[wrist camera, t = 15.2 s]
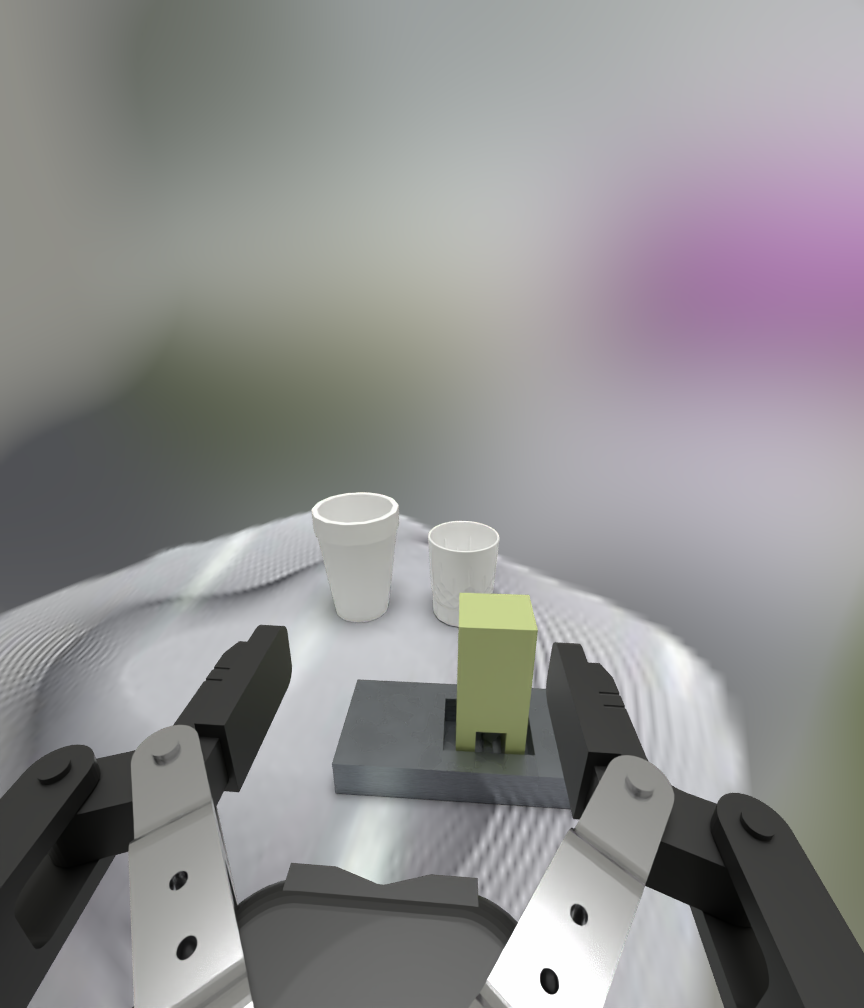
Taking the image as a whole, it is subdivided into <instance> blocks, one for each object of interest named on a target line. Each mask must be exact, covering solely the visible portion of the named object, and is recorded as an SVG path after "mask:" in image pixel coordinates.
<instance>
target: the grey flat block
mask: <svg viewBox="0 0 864 1008" xmlns="http://www.w3.org/2000/svg"><path fill="white" fill-rule="evenodd" d="M456 709H457V684H437V683H417V682H396V681H376V680H357V683H356V687H355V690H354V693H353V696H352V700H351V703H350V706H349V710H348V713H347V716H346V720H345V723H344V726H343V729H342V733H341V736H340V739H339V743H338V746H337V749H336V753H335V756H334V759H333V762H332V767H333V775H334V784H335V792H336V793H341V794H356V795H371V796H386V797H401V798H416V799H431V800H447V801H462V802H477V803H492V804H507V805H522V806H537V807H552V808H567V809H571V807H570V803H569V798H568V794H567V789H566V785H565V781H564V776H563V772H562V767H561V763H560V758H559V754H558V749H557V745H556V740H555V736H554V731H553V727H552V722H551V718H550V714H549V709H548V704H547V697H546V689H537V688H531V698H530V707H529V717H528V726H527V735H526V745H525V754H524V755H518V754H502V751H501V740H500V733H491V732H476V738H475V752H467V751H456Z"/></svg>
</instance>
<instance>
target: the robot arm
mask: <svg viewBox="0 0 864 1008" xmlns="http://www.w3.org/2000/svg"><path fill="white" fill-rule="evenodd" d="M291 673H292V663H291V656H290V648H289V640H288V633H287V629H286V627H285V626H272V625H259V626H258V627H257V628H256V629H255V631H254V633H253V634H252V636H251V637H250V639H249V640H248V642H243V641H239V642H238V643H236V644H235V645H234V646H233V647H231V648H230V649H229V650H227V651H226V652H225V653H224V654H223V655H222V657H221V658H220V659H219V661H218V662H217V664H216V665H215V667H214V670H212V671H211V672H210V674H209V675H208V677H207V678H206V681H204V682H203V684H202V685H201V686H200V688H199V689H198V691H197V692H196V694H195V695H194V696H193V698H192V699H191V701H190V702H189V704H188V705H187V706H186V708H185V709H184V711H183V712H182V713H181V715H180V716H179V718H178V719H177V721H176V722H175V723H174V725H173V726H169V727H166V728H163V729H161V730H159V731H157V732H155V733H154V734H152V735H151V736H149V737H148V738H147V739H145V740H144V741H143V742H142V743H141V744H140V745H139V746H138V748H137V749H136V750H134V751H130V752H126V753H121V754H117V755H112V756H107V757H103V758H98V759H96V758H95V755H94V753H93V751H92V749H91V748H89V747H88V746H85V745H70V746H66V747H63V748H60V749H57V750H55V751H53V752H51V753H49V754H47V755H45V756H43V757H42V758H40V759H39V760H37V761H36V762H35V763H34V764H32V765H31V766H30V767H29V768H28V769H27V770H26V771H25V772H24V773H23V774H22V775H21V776H20V778H19V779H18V780H17V781H16V782H15V783H14V784H13V785H12V787H11V788H10V789H9V790H8V791H7V792H6V793H5V794H4V796H3V797H2V798H1V799H0V1008H27V1006H28V1004H29V1002H30V1001H31V999H32V997H33V996H34V994H35V992H36V991H37V989H38V987H39V985H40V984H41V982H42V980H43V979H44V977H45V975H46V973H47V972H48V970H49V968H50V967H51V965H52V963H53V961H54V960H55V958H56V956H57V955H58V953H59V951H60V950H61V948H62V946H63V944H64V943H65V941H66V939H67V938H68V936H69V934H70V932H71V931H72V929H73V927H74V926H75V924H76V922H77V920H78V919H79V917H80V915H81V914H82V912H83V910H84V909H85V907H86V905H87V903H88V902H89V900H90V898H91V897H92V895H93V893H94V891H95V890H96V888H97V886H98V885H99V883H100V881H101V879H102V878H103V876H104V874H105V873H106V871H107V869H108V868H109V866H110V864H111V862H112V861H113V859H114V857H115V856H116V855H117V854H121V853H125V852H128V851H129V882H130V909H131V936H132V963H133V990H134V1006H133V1007H132V1008H602V1007H603V1004H604V1002H605V999H606V996H607V993H608V990H609V987H610V984H611V982H612V979H613V976H614V973H615V970H616V967H617V964H618V962H619V959H620V956H621V953H622V950H623V947H624V944H625V942H626V939H627V936H628V933H629V930H630V927H631V924H632V922H633V919H634V916H635V913H636V910H637V907H638V904H639V902H640V899H641V896H642V893H643V890H644V887H645V886H647V887H649V888H652V889H654V890H656V891H658V892H661V893H663V894H665V895H667V896H670V897H672V898H674V899H677V900H679V901H681V902H683V903H686V904H688V905H690V908H691V911H692V914H693V917H694V920H695V923H696V926H697V929H698V931H699V934H700V937H701V940H702V943H703V946H704V949H705V952H706V955H707V958H708V961H709V964H710V967H711V970H712V973H713V976H714V979H715V981H716V985H717V987H718V990H719V993H720V996H721V999H722V1002H723V1005H724V1008H864V953H863V951H862V949H861V947H860V946H859V944H858V942H857V941H856V939H855V937H854V936H853V934H852V932H851V930H850V929H849V927H848V925H847V924H846V922H845V920H844V919H843V917H842V915H841V914H840V912H839V910H838V908H837V907H836V905H835V903H834V902H833V900H832V898H831V896H830V895H829V893H828V891H827V890H826V888H825V886H824V885H823V883H822V881H821V879H820V878H819V876H818V874H817V873H816V871H815V869H814V868H813V866H812V864H811V863H810V861H809V859H808V858H807V856H806V854H805V852H804V850H803V849H802V847H801V846H800V844H799V842H798V840H797V839H796V837H795V835H794V833H793V832H792V830H791V829H790V827H789V826H788V824H787V823H786V822H785V821H784V820H783V819H782V818H781V817H780V815H779V814H777V813H776V812H775V811H774V810H773V809H772V808H770V807H769V806H767V805H766V804H764V803H763V802H761V801H759V800H758V799H756V798H753V797H751V796H748V795H745V794H740V793H729V794H726V795H724V796H722V797H721V798H720V799H719V801H718V803H717V804H716V803H713V802H710V801H707V800H705V799H702V798H699V797H696V796H694V795H691V794H688V793H686V792H683V791H681V790H679V789H677V788H675V787H674V786H672V785H671V784H670V782H669V780H668V779H667V778H666V776H665V775H664V774H663V773H662V772H661V771H660V770H659V769H658V768H657V767H656V766H655V765H653V764H651V763H650V762H649V761H648V759H647V758H646V755H645V753H644V750H643V748H642V746H641V743H640V741H639V739H638V736H637V734H636V731H635V729H634V727H633V724H632V722H631V720H630V717H629V715H628V712H627V710H626V709H625V705H624V703H623V701H622V698H621V696H619V691H618V689H617V686H616V684H615V682H614V679H613V677H612V676H611V675H610V674H609V673H608V672H607V671H606V670H605V669H604V668H603V666H602V665H601V664H600V663H588V662H587V659H586V656H585V654H584V651H583V648H582V646H581V645H580V644H574V643H557V642H555V643H553V646H552V651H551V657H550V664H549V670H548V676H547V683H546V697H547V704H548V709H549V714H550V718H551V722H552V727H553V731H554V736H555V740H556V745H557V749H558V754H559V758H560V763H561V767H562V772H563V776H564V781H565V785H566V789H567V794H568V798H569V803H570V807H571V812H572V816H573V819H580V820H579V822H578V824H577V825H576V827H575V828H574V829H573V828H571V829H570V830H569V831H568V832H567V834H566V836H565V837H564V839H563V841H562V843H561V845H560V847H559V848H558V850H557V852H556V854H555V856H554V858H553V860H552V861H551V863H550V865H549V867H548V869H547V871H546V873H545V874H544V876H543V878H542V880H541V882H540V884H539V885H538V887H537V889H536V891H535V893H534V895H533V897H532V898H531V900H530V902H529V904H528V906H527V908H526V910H525V911H524V913H523V915H522V917H521V919H520V921H519V923H518V922H517V921H516V920H515V919H514V918H513V917H512V916H511V915H510V914H509V913H507V912H506V911H505V910H503V909H502V908H501V907H500V906H498V905H497V904H495V903H493V902H491V901H490V900H488V899H486V898H484V897H481V896H479V895H478V878H469V877H457V876H445V875H433V874H431V875H426V876H422V877H417V878H413V879H408V880H404V881H400V882H395V883H391V884H386V885H380V884H376V883H374V882H372V881H369V880H367V879H364V878H362V877H360V876H357V875H355V874H353V873H350V872H348V871H345V870H343V869H341V868H338V867H335V866H323V865H311V864H298V863H291V865H290V868H289V871H288V875H287V878H286V880H284V881H280V882H277V883H274V884H272V885H269V886H267V887H265V888H263V889H261V890H259V891H257V892H255V893H254V894H252V895H251V896H249V897H248V898H246V899H244V900H243V901H242V902H241V903H238V899H237V895H236V891H235V887H234V882H233V878H232V874H231V869H230V864H229V860H228V855H227V851H226V846H225V841H224V837H223V832H222V828H221V823H220V818H219V814H218V809H217V804H218V802H219V800H220V798H221V796H222V794H223V792H224V791H229V792H240V789H241V787H242V785H243V783H244V781H245V779H246V776H247V774H248V772H249V770H250V768H251V766H252V764H253V761H254V759H255V757H256V755H257V753H258V751H259V749H260V746H261V744H262V742H263V740H264V738H265V736H266V734H267V731H268V729H269V727H270V725H271V723H272V721H273V719H274V716H275V714H276V712H277V710H278V708H279V706H280V703H281V701H282V699H283V697H284V695H285V693H286V691H287V688H288V686H289V683H290V679H291Z"/></svg>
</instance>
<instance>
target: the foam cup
mask: <svg viewBox="0 0 864 1008" xmlns="http://www.w3.org/2000/svg"><path fill="white" fill-rule="evenodd" d="M312 519H313V529H314V532H315V535H316V537H317V538H318V541H319V545H320V549H321V553H322V557H323V561H324V565H325V569H326V573H327V577H328V581H329V585H330V589H331V593H332V596H333V600H334V604H335V607H336V611H337V614H338V616H339V617H341V618H342V619H344V620H345V621H350V622H355V623H359V622H369V621H372V620H374V619H377V618H379V617H381V616H382V615H383V614H384V613H385V612H386V611H387V608H388V605H389V597H390V588H391V579H392V570H393V560H394V551H395V542H396V533H397V529H398V526H399V506H398V504H397V503H396V501H395V500H394V499H392V498H390V497H387V496H384V495H382V494H374V493H346V494H342V495H337V496H332V497H329V498H327V499H325V500H322V501H320V502H318V503H317V504H316V505H315V506H314V507H313V509H312Z"/></svg>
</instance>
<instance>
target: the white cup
mask: <svg viewBox="0 0 864 1008" xmlns="http://www.w3.org/2000/svg"><path fill="white" fill-rule="evenodd" d="M428 542H429V562H430V576H431V589H432V592H433V611H434V613H435V615H436V616H437V618H438V619H439V620H440V621H442V622H444V623H446V624H448V625H451V626H456V627H459V593H484V594H492V593H493V588H494V581H495V574H496V564H497V555H498V546H499V534H498V533H497V532H496V531H495V530H494V529H493V528H491V527H489V526H487V525H484V524H481V523H477V522H470V521H453V522H447V523H443V524H440V525H437V526H435V527H434V528H432V529H431V530H430V532H429V534H428Z"/></svg>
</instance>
